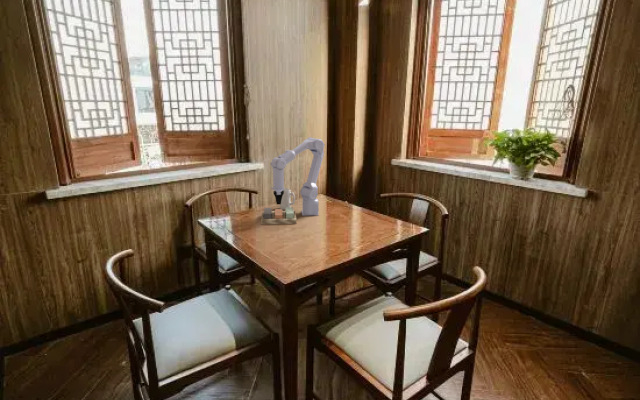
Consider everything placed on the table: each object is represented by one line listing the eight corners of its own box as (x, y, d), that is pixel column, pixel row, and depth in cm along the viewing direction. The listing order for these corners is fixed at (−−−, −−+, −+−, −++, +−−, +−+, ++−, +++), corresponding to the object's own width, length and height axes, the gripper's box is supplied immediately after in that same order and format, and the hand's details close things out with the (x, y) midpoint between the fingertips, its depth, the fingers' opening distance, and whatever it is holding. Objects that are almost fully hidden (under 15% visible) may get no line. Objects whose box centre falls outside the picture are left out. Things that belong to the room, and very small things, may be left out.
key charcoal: (271, 214, 199) (271, 207, 198) (271, 220, 188) (271, 213, 187) (264, 214, 198) (264, 207, 197) (263, 220, 188) (263, 213, 187)
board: (295, 215, 203) (295, 211, 202) (296, 223, 188) (296, 219, 188) (262, 215, 200) (262, 211, 200) (261, 224, 186) (261, 219, 185)
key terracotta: (282, 215, 200) (282, 209, 199) (282, 222, 189) (282, 215, 188) (275, 215, 199) (275, 209, 198) (275, 222, 189) (275, 215, 188)
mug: (277, 209, 213) (277, 190, 210) (282, 206, 219) (282, 187, 216) (292, 211, 209) (292, 192, 206) (297, 208, 215) (297, 189, 212)
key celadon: (292, 214, 200) (292, 207, 199) (293, 220, 190) (293, 213, 189) (285, 214, 200) (285, 207, 199) (286, 220, 189) (286, 213, 188)
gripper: (271, 177, 195) (271, 200, 198) (270, 183, 181) (271, 208, 185) (283, 177, 196) (284, 200, 199) (284, 183, 182) (284, 207, 185)
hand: (278, 204), depth 192 cm, fingers closed
